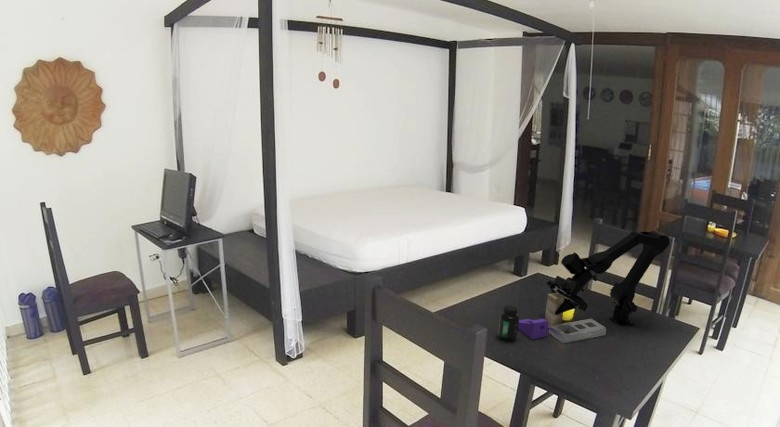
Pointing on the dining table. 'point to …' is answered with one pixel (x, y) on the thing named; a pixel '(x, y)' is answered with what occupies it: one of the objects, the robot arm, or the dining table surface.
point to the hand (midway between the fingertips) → (551, 311)
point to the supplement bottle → (508, 324)
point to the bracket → (534, 328)
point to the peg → (554, 309)
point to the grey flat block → (577, 330)
